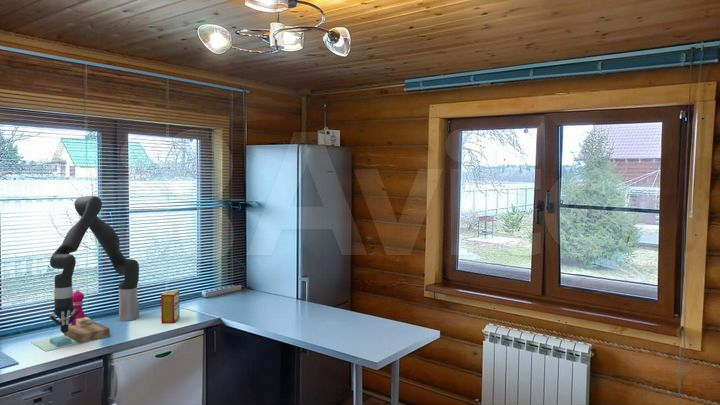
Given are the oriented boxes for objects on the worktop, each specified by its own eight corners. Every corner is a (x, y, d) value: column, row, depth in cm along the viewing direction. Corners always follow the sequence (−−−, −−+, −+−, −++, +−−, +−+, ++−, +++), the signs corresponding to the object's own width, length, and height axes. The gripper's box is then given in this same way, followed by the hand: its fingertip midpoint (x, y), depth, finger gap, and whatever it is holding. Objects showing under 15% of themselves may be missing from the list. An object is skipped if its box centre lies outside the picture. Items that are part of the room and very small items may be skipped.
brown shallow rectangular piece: (93, 328, 252) (93, 321, 252) (109, 336, 241) (109, 328, 241) (63, 335, 242) (63, 327, 241) (79, 343, 230) (78, 335, 230)
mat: (63, 335, 242) (63, 334, 242) (79, 343, 230) (79, 342, 230) (31, 342, 231) (31, 342, 231) (45, 351, 219) (45, 350, 219)
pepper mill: (71, 325, 257) (70, 288, 256) (87, 324, 260) (86, 287, 259) (68, 329, 250) (67, 291, 249) (84, 328, 253) (83, 290, 252)
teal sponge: (49, 338, 230) (49, 342, 230) (57, 342, 224) (57, 347, 224) (63, 335, 235) (63, 339, 235) (71, 339, 229) (71, 343, 229)
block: (86, 322, 249) (86, 317, 249) (90, 324, 246) (90, 318, 246) (76, 325, 245) (75, 319, 245) (80, 327, 242) (80, 321, 242)
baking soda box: (173, 323, 263) (173, 294, 262) (161, 323, 263) (161, 294, 262) (179, 318, 272) (179, 290, 272) (167, 318, 272) (167, 290, 271)
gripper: (75, 292, 237) (76, 327, 238) (44, 297, 227) (45, 334, 228) (82, 294, 233) (82, 330, 233) (51, 300, 222) (51, 337, 223)
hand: (64, 332), depth 231 cm, fingers closed
